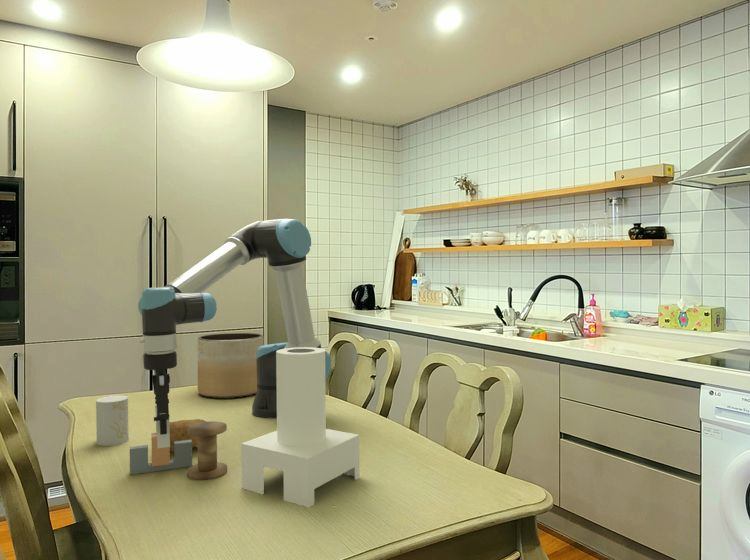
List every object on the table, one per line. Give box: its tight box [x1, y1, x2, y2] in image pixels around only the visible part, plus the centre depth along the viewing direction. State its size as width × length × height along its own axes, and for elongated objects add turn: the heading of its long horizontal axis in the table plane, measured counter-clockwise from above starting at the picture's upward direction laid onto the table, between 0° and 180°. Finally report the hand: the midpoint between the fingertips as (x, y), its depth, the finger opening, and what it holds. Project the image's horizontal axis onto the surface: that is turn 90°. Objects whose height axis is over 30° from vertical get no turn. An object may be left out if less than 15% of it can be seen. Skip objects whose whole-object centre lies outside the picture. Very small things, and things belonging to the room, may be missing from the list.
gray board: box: [129, 440, 193, 476], centre depth 135 cm, size 14×2×6 cm, turn 113°
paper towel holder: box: [240, 347, 361, 508], centre depth 125 cm, size 19×19×30 cm
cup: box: [95, 395, 130, 447], centre depth 157 cm, size 8×8×12 cm
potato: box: [169, 418, 207, 452], centre depth 149 cm, size 10×14×8 cm
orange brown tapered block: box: [150, 432, 171, 467], centre depth 135 cm, size 4×4×7 cm
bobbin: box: [187, 420, 228, 481], centre depth 132 cm, size 9×9×11 cm
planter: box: [197, 332, 264, 399], centre depth 218 cm, size 25×25×22 cm
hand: (162, 438), depth 135 cm, fingers open, 13 cm apart
